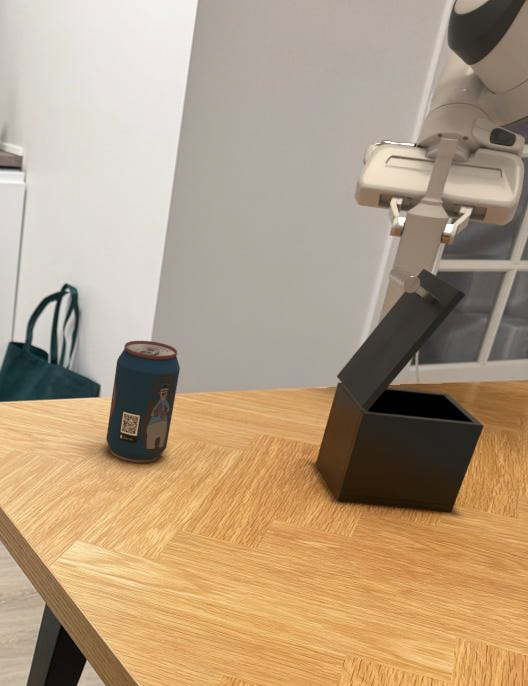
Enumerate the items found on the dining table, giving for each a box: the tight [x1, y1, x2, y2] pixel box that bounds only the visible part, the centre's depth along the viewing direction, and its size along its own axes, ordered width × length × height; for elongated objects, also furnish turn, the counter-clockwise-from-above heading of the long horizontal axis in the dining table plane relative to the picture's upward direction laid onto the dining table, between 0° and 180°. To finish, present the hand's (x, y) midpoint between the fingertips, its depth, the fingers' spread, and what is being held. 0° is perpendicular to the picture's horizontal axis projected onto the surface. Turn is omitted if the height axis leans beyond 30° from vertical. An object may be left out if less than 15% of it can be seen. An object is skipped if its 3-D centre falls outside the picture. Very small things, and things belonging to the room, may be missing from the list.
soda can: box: [106, 340, 181, 463], centre depth 99 cm, size 7×7×12 cm
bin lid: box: [336, 266, 466, 411], centre depth 91 cm, size 13×11×5 cm
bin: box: [315, 381, 484, 513], centre depth 98 cm, size 13×11×10 cm
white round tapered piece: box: [377, 138, 459, 325], centre depth 117 cm, size 5×5×25 cm
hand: (421, 237), depth 115 cm, fingers closed on white round tapered piece, 5 cm apart
